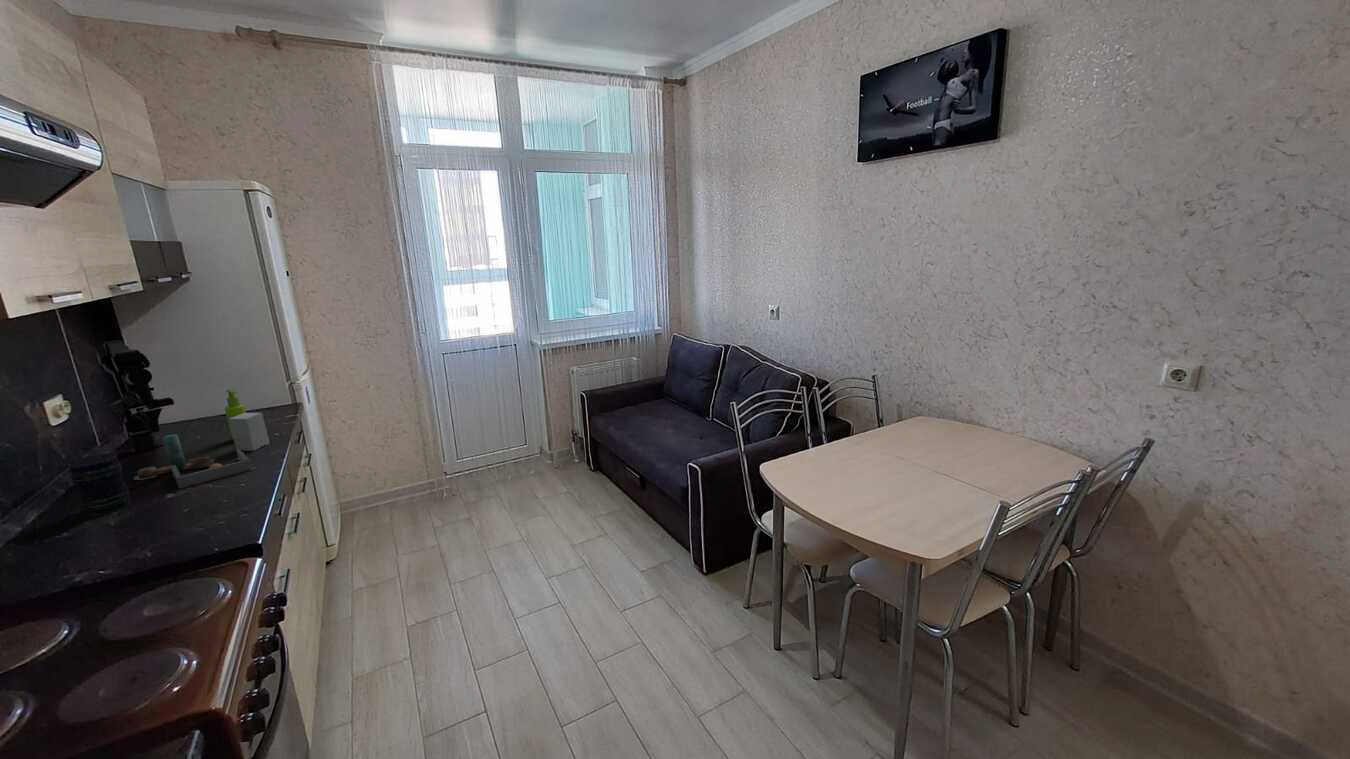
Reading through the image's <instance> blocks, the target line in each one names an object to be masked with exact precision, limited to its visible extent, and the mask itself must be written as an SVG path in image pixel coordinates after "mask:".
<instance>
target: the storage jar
mask: <svg viewBox="0 0 1350 759" xmlns="http://www.w3.org/2000/svg"><path fill="white" fill-rule="evenodd" d="M119 461H120V460H119V459H118V454H117V453H115V452H113V453H112V452H111V453H108V452H107V453H100V454H94V455H90V456H86V457H82V458H78V459H76V460H73V461H71V462H70V463H68V465H67V466H68V470H69V472H70V474H69V475H70V477H71V479H72V482H73V485H75V487H76V490H77V492H78V500H79V504H80V506H81V507H82V510H83V514H84V515H85V516H100V515H105V514H108V513H109V514H110V513H113V512H116V511H118V510H119V511H120V509H124V508H125V506H126V507H128V506H129V505H131V504H132V499H131V498H130V491H129V489H128V485H127V483H125V480H124V478H123V474H122V473H123V469H122V466H121V462H119ZM128 504H129V505H128Z"/></svg>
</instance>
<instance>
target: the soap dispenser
mask: <svg viewBox="0 0 1350 759" xmlns="http://www.w3.org/2000/svg"><path fill="white" fill-rule="evenodd" d="M225 391H226V392H227V393H228V394H227V395H228V398H227V399H226V400H227V405H228V406H227V407H224V410H225V415H226V419H227V422H228V423H227V424H228V427H229V431H230V435H231V438H232V440H233V435H232V431H231V427H230V423H229V420H228V419H230V418H232V417H235V416H238V415H240V414H243V413H247V412H246V408H245V404H240V400H239V397H238V396H236V395H235V394H238V393H237V390H236V389H235V388H229V389H226V390H225Z"/></svg>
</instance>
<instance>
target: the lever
mask: <svg viewBox="0 0 1350 759" xmlns="http://www.w3.org/2000/svg"><path fill="white" fill-rule="evenodd" d="M162 438H163V443H164V445H165V449H166V454H167V457H168V459H169V463H170V466H163V467H158V468H157V467H156V466H148V467H144V468H141V469H138V470H137V471H136V472H137V476H138V477H139V478H146V477H150V476H153V475H156V474H162V473H163V474H166V473H167V474H168V473H172V470H171V466H173V465H176V467H177V469H178V471H179V472H182V471H185V470H188V469H191V470H196V469H200V468H201V469H202V468H207V467H208V468H209V467H210V466H211V465H212V464H215V459H214V458H210V456H204V457H199V458H194V459H193V458H192V459H189V462H187V463H186V461H185V456H184V452H183V450H182V445H181V442H180V439H179V435H178V433H177V434H176V433H174V434H168V435H164V436H163V437H162ZM163 474H162V475H163Z"/></svg>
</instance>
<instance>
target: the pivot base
mask: <svg viewBox="0 0 1350 759" xmlns="http://www.w3.org/2000/svg"><path fill="white" fill-rule="evenodd" d="M157 476H158V477H160V476H161V474H156V475H153V476H150V477H146V478H139V477H138V475H136V476H134V477H133V481H135V480H142V481H147V480H146V479H148V480H151V479H150V478H152V479H155V478H157ZM154 477H155V478H154Z"/></svg>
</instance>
